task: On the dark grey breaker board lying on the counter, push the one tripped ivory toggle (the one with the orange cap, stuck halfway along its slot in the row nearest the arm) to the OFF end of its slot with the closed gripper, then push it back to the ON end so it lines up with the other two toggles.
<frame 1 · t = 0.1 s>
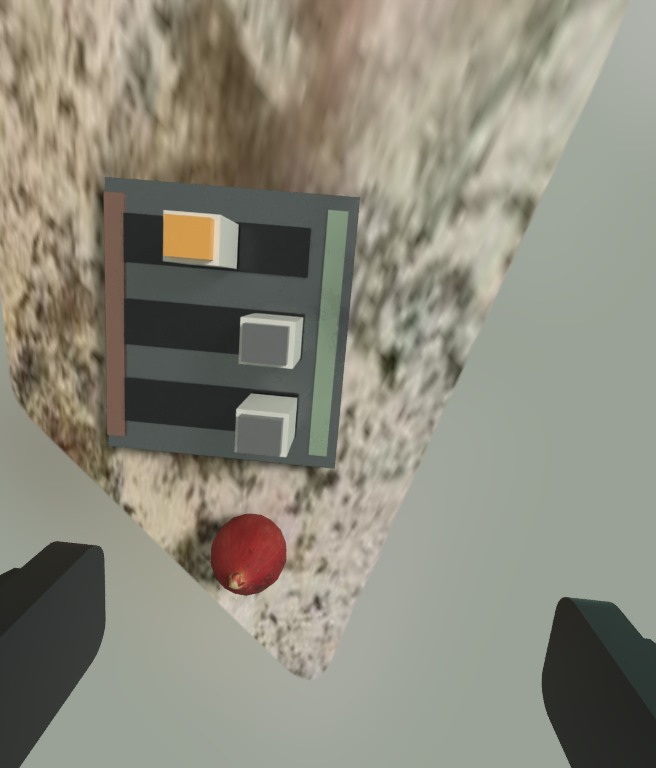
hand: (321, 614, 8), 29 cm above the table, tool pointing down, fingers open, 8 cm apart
breaker b: (271, 339, 31), point 5 cm above the table, slide at 10.0 cm
breaker tripped: (201, 241, 30), point 5 cm above the table, slide at 5.0 cm
breaker board: (232, 327, 36), on the table
onion: (259, 527, 40), on the table
breaker a: (266, 425, 32), point 5 cm above the table, slide at 10.0 cm
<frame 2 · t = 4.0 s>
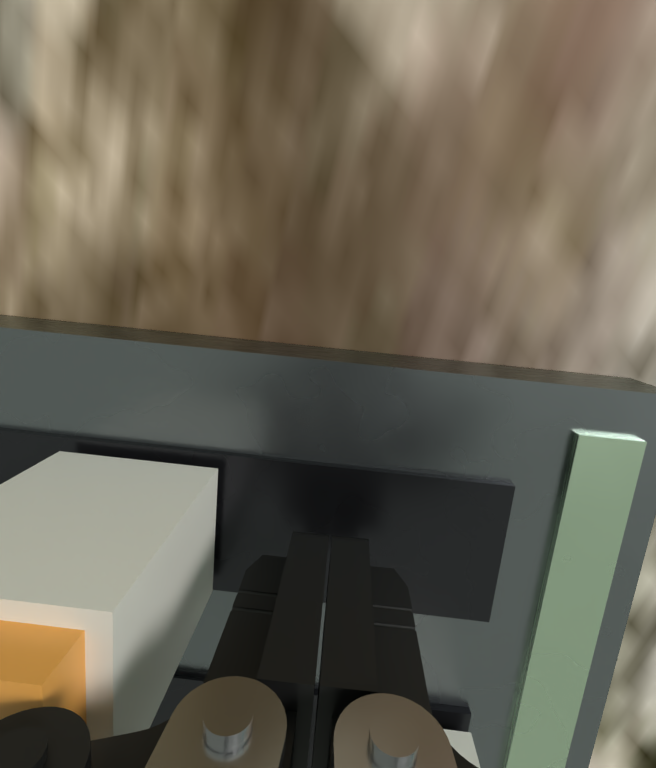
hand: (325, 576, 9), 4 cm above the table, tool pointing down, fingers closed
breaker tripped: (66, 601, 8), point 5 cm above the table, slide at 3.6 cm, touching gripper
breaker board: (251, 671, 14), on the table
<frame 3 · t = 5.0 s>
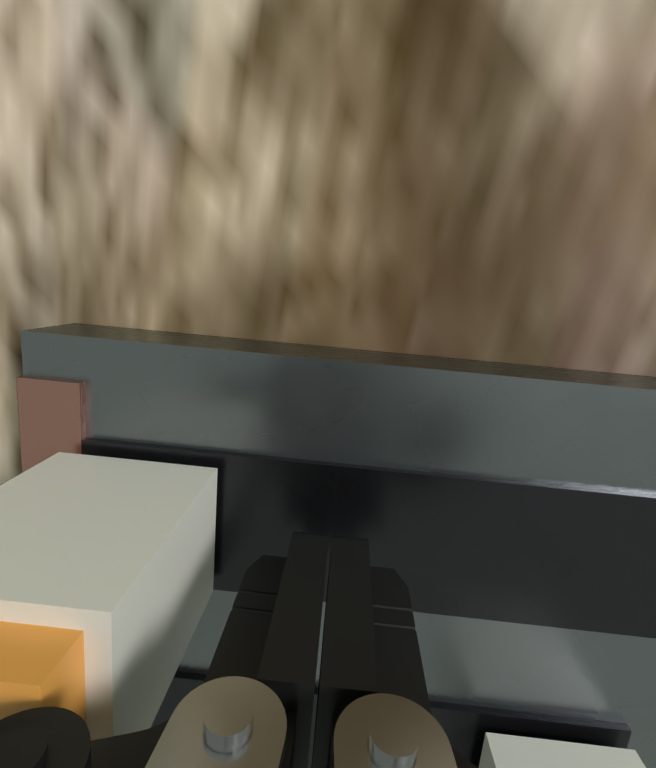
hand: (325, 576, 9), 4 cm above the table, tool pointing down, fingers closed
breaker tripped: (66, 602, 8), point 5 cm above the table, slide at -0.2 cm, touching gripper
breaker board: (378, 685, 14), on the table
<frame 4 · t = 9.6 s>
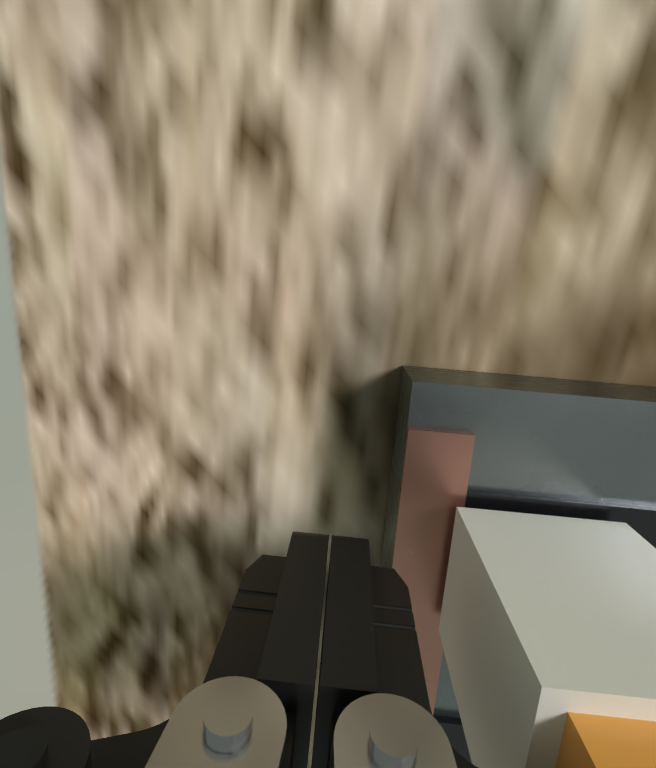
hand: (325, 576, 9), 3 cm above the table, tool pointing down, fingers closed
breaker tripped: (590, 680, 7), point 5 cm above the table, slide at -0.1 cm, touching gripper
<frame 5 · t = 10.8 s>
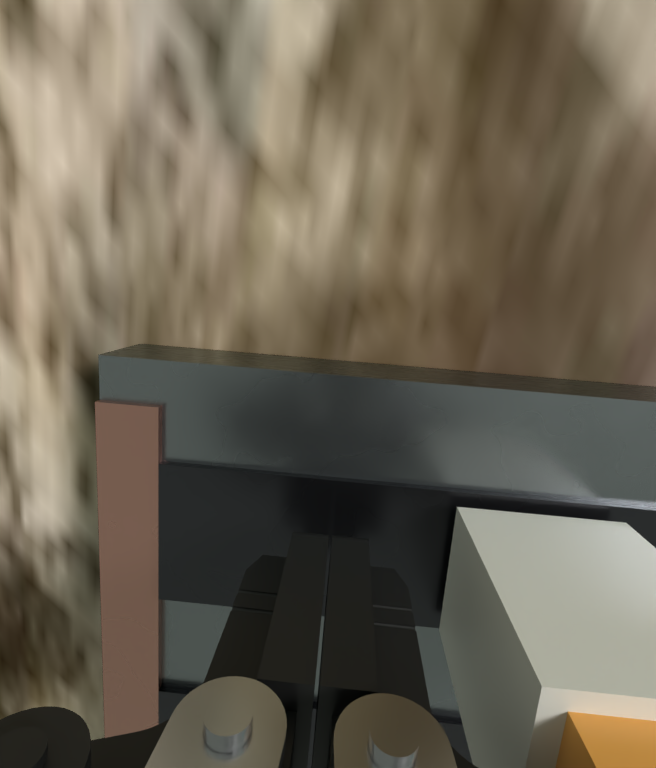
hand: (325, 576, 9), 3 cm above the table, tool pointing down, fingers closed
breaker tripped: (590, 679, 7), point 5 cm above the table, slide at 6.7 cm, touching gripper
breaker board: (441, 704, 14), on the table
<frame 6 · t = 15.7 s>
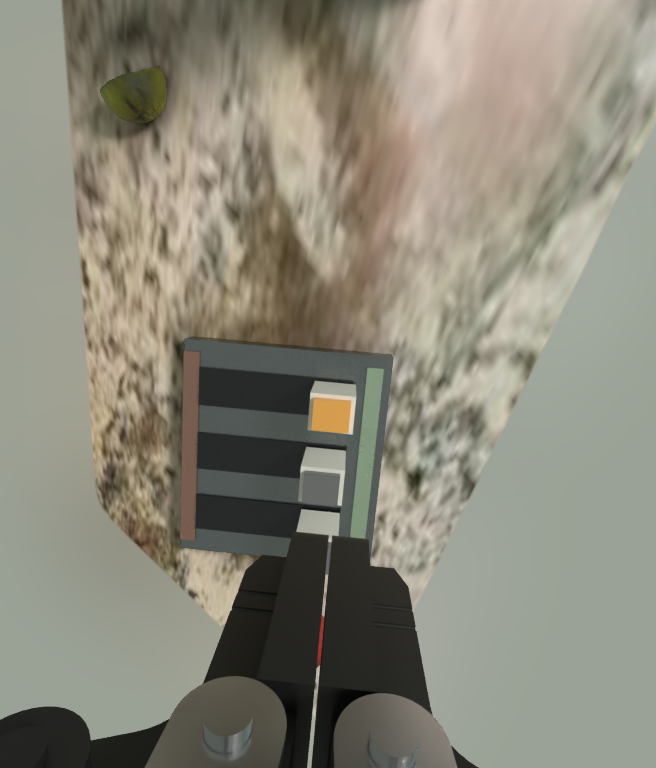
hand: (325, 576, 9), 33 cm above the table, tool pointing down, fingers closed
breaker b: (322, 476, 39), point 5 cm above the table, slide at 10.0 cm
lime: (151, 103, 38), on the table
breaker tripped: (332, 407, 37), point 5 cm above the table, slide at 10.3 cm
breaker board: (284, 450, 44), on the table
breaker a: (317, 541, 40), point 5 cm above the table, slide at 10.0 cm
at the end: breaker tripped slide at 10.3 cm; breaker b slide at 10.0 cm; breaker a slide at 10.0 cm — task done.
